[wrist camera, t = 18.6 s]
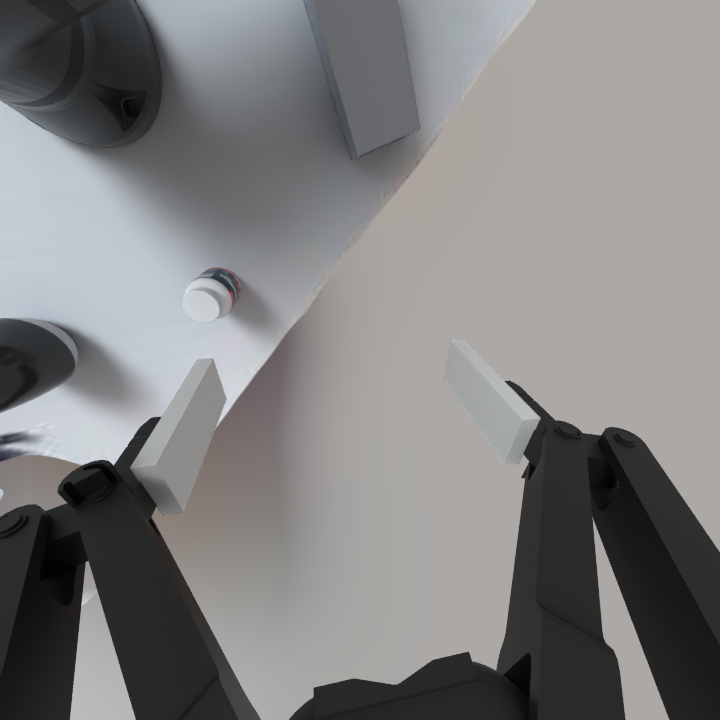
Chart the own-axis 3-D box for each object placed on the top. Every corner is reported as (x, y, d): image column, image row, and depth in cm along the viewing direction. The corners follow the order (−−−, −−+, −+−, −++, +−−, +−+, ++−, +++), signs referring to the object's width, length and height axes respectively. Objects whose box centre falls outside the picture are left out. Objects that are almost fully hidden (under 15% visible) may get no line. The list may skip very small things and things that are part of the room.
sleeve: (405, 136, 34) (420, 129, 29) (351, 160, 34) (358, 155, 30) (368, -42, 26) (380, -91, 22) (300, -10, 27) (298, -51, 22)
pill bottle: (248, 296, 41) (234, 321, 34) (214, 308, 41) (193, 334, 34) (229, 261, 38) (210, 279, 31) (193, 273, 38) (165, 293, 31)
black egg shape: (110, 350, 42) (23, 422, 29) (58, 381, 43) (-47, 463, 31) (39, 292, 37) (-106, 349, 24) (-18, 330, 38) (-184, 402, 25)
